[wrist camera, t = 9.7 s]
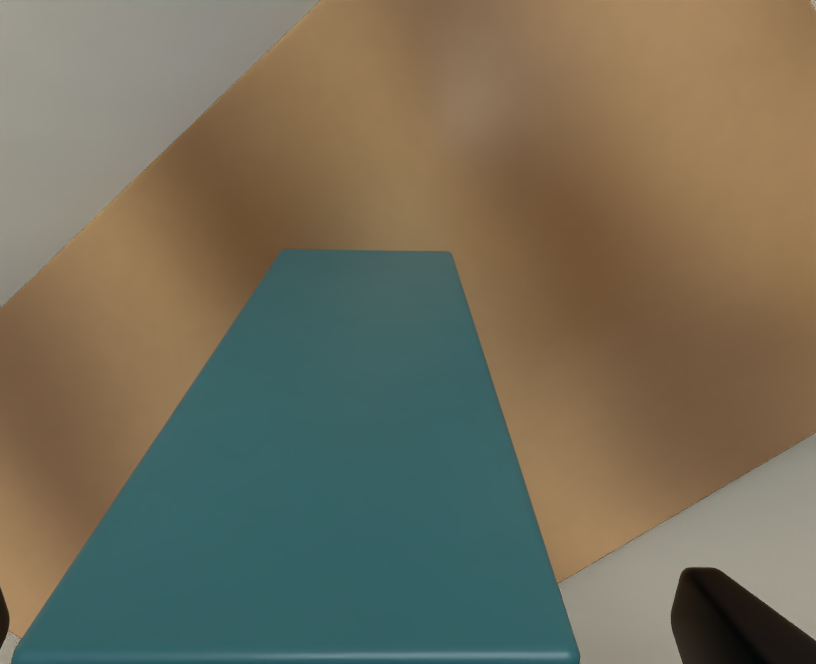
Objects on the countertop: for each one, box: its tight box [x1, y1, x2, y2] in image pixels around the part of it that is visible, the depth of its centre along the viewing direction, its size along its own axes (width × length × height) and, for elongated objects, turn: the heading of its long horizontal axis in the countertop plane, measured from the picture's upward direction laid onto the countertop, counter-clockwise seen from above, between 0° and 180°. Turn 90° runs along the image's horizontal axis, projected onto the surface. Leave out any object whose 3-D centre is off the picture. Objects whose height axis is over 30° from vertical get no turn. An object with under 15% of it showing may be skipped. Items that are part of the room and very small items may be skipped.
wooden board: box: [0, 0, 816, 639], centre depth 12 cm, size 20×12×1 cm, turn 129°
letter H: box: [11, 249, 580, 664], centre depth 8 cm, size 3×7×8 cm, turn 179°
